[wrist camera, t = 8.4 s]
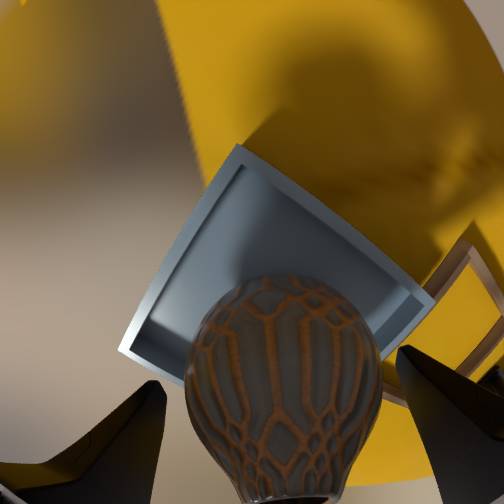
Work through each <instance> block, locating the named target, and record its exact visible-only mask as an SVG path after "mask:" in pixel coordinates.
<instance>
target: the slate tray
mask: <svg viewBox="0 0 504 504" xmlns="http://www.w3.org/2000/svg"><path fill="white" fill-rule="evenodd" d="M277 273H289V274H298V275H303V276H308V277H311V278H314V279H317V280H319V281H321V282H323V283H325V284H327V285H329V286H331V287H333V288H334V289H336V290H337V291H339V292H340V293H341V294H342V295H344V296H345V297H346V298H347V299H348V300H349V301H350V302H351V303H352V304H353V305H354V306H355V307H356V308H357V310H358V311H359V312H360V314H361V315H362V316H363V318H364V319H365V321H366V323H367V324H368V326H369V328H370V329H371V331H372V334H373V336H374V338H375V340H376V342H377V346H378V349H379V352H380V356H381V361H382V360H383V359H384V358H385V357H386V356H387V355H388V354H389V353H390V352H391V351H392V350H393V349H394V348H395V347H396V346H397V345H398V344H399V343H400V342H401V341H402V340H403V339H404V338H405V337H406V336H407V335H408V334H409V333H410V332H411V331H412V330H413V328H414V327H415V326H416V325H417V324H418V323H419V322H420V321H421V320H422V318H423V317H424V316H425V315H426V314H427V313H428V312H429V310H430V309H431V308H432V307H433V306H434V305H435V303H436V301H435V300H434V299H433V298H432V297H431V296H430V295H429V294H428V293H427V292H426V291H425V290H424V289H423V288H422V287H421V286H420V285H419V284H418V283H417V282H416V281H415V280H413V279H412V278H411V277H410V276H409V275H408V274H407V273H406V272H405V271H404V270H403V269H402V268H400V267H399V266H398V265H397V264H396V263H395V262H394V261H393V260H392V259H390V258H389V257H388V256H387V255H386V254H385V253H384V252H382V251H381V250H380V249H379V248H378V247H377V246H375V245H374V244H373V243H372V242H371V241H370V240H368V239H367V238H366V237H365V236H364V235H362V234H361V233H360V232H359V231H358V230H356V229H355V228H354V227H353V226H352V225H350V224H349V223H348V222H347V221H345V220H344V219H343V218H342V217H340V216H339V215H338V214H337V213H335V212H334V211H333V210H331V209H330V208H329V207H328V206H326V205H325V204H324V203H322V202H321V201H320V200H318V199H317V198H316V197H314V196H313V195H312V194H310V193H309V192H308V191H306V190H305V189H304V188H302V187H301V186H300V185H298V184H297V183H296V182H294V181H293V180H291V179H290V178H289V177H287V176H286V175H284V174H283V173H282V172H280V171H279V170H277V169H276V168H274V167H273V166H271V165H270V164H269V163H267V162H266V161H264V160H263V159H261V158H260V157H258V156H257V155H255V154H254V153H252V152H251V151H249V150H248V149H246V148H245V147H243V146H242V145H240V144H236V146H235V147H234V149H233V150H232V152H231V153H230V155H229V156H228V157H227V159H226V160H225V162H224V163H223V165H222V166H221V168H220V169H219V171H218V172H217V174H216V175H215V177H214V178H213V180H212V182H211V183H210V185H209V186H208V188H207V189H206V191H205V192H204V194H203V196H202V198H201V199H200V200H199V202H198V204H197V205H196V207H195V208H194V210H193V212H192V213H191V215H190V217H189V218H188V220H187V221H186V223H185V225H184V226H183V228H182V230H181V232H180V233H179V235H178V236H177V238H176V240H175V242H174V243H173V245H172V247H171V249H170V250H169V252H168V254H167V256H166V257H165V259H164V261H163V263H162V265H161V266H160V268H159V270H158V272H157V273H156V275H155V277H154V279H153V281H152V283H151V285H150V286H149V288H148V290H147V292H146V294H145V296H144V298H143V300H142V302H141V304H140V305H139V308H138V309H137V311H136V313H135V315H134V317H133V319H132V322H131V323H130V325H129V328H128V329H127V331H126V333H125V336H124V338H123V340H122V342H121V344H120V346H119V348H118V351H120V352H121V353H123V354H125V355H126V356H128V357H129V358H131V359H133V360H134V361H136V362H138V363H139V364H141V365H143V366H144V367H146V368H148V369H150V370H151V371H153V372H155V373H157V374H158V375H160V376H162V377H164V378H166V379H168V380H170V381H171V382H173V383H175V384H177V385H179V386H181V387H183V388H184V375H185V365H186V360H187V356H188V352H189V348H190V345H191V343H192V340H193V337H194V335H195V333H196V331H197V329H198V327H199V325H200V323H201V321H202V320H203V318H204V316H205V315H206V314H207V312H208V311H209V310H210V309H211V308H212V306H213V305H214V304H215V303H216V302H217V301H218V300H219V299H220V298H221V297H223V296H224V295H225V294H226V293H227V292H229V291H230V290H232V289H233V288H235V287H236V286H238V285H240V284H242V283H244V282H246V281H248V280H251V279H253V278H256V277H260V276H264V275H269V274H277Z"/></svg>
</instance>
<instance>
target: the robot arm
mask: <svg viewBox="0 0 504 504" xmlns="http://www.w3.org/2000/svg"><path fill="white" fill-rule="evenodd" d="M395 365H396V370H397V373H398V376H399V380H400V383H401V386H402V389H403V393H404V396H405V399H406V402H407V405H408V407H409V410H410V412H411V414H412V417H413V419H414V422H415V424H416V427H417V429H418V432H419V434H420V437H421V439H422V442H423V445H424V447H425V450H426V453H427V455H428V458H429V461H430V464H431V467H432V470H433V473H434V476H435V478H436V482H437V485H438V488H439V492H440V495H441V498H442V501H443V504H504V373H503V371H502V370H501V369H500V367H499V366H496V367H495V368H494V369H493V370H492V371H491V372H490V373H489V374H488V375H487V376H486V377H485V378H484V379H483V380H482V382H481V383H480V384H479V385H478V384H476V383H475V382H473V381H471V380H470V379H468V378H466V377H464V376H463V375H461V374H459V373H458V372H456V371H454V370H452V369H451V368H449V367H447V366H445V365H444V364H442V363H440V362H438V361H437V360H435V359H433V358H432V357H430V356H428V355H426V354H425V353H423V352H421V351H419V350H418V349H416V348H414V347H413V346H411V345H404V346H401V347H399V348H398V352H397V357H396V363H395ZM166 405H167V395H166V393H165V391H164V389H163V387H162V386H161V384H160V382H159V381H157V380H149V381H147V382H146V383H145V384H144V385H143V386H141V387H140V388H139V389H138V390H137V391H136V392H134V393H133V394H132V395H131V396H130V397H129V398H128V399H126V400H125V401H124V402H123V403H122V404H121V405H119V406H118V407H117V408H116V409H115V410H114V411H113V412H111V413H110V414H109V415H108V416H107V417H106V418H104V419H103V420H102V421H101V422H100V423H98V424H97V425H96V426H95V427H94V428H93V429H92V430H91V431H89V432H88V433H87V434H85V435H84V436H83V437H82V438H80V439H79V440H78V441H77V442H75V443H74V444H72V445H71V446H70V447H68V448H67V449H65V450H64V451H62V452H61V453H59V454H58V455H56V456H55V457H53V458H52V459H50V460H48V461H46V462H44V463H39V464H20V463H4V462H0V484H2V485H3V486H4V488H3V490H2V491H0V504H150V500H151V494H152V489H153V483H154V478H155V473H156V467H157V462H158V457H159V452H160V447H161V442H162V438H163V432H164V426H165V415H166Z"/></svg>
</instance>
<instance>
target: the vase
mask: <svg viewBox="0 0 504 504" xmlns="http://www.w3.org/2000/svg"><path fill="white" fill-rule="evenodd" d="M184 388H185V399H186V405H187V410H188V414H189V417H190V420H191V423H192V426H193V428H194V430H195V432H196V434H197V436H198V437H199V439H200V440H201V442H202V444H203V445H204V446H205V448H206V449H207V450H208V452H209V453H210V455H211V456H212V457H213V459H214V460H215V461H216V462H217V464H218V465H219V466H220V467H221V468H222V470H223V471H224V472H225V473H226V475H227V476H228V477H229V479H230V480H231V482H232V484H233V485H234V487H235V489H236V491H237V494H238V496H239V498H240V500H241V502H242V504H335V503H337V502H338V501H339V500H340V499H341V497H342V494H343V491H344V488H345V484H346V481H347V478H348V475H349V473H350V470H351V468H352V465H353V464H354V462H355V460H356V458H357V457H358V455H359V453H360V452H361V450H362V448H363V446H364V445H365V443H366V441H367V439H368V437H369V435H370V433H371V431H372V429H373V427H374V424H375V422H376V420H377V417H378V414H379V411H380V407H381V403H382V396H383V369H382V362H381V356H380V352H379V349H378V346H377V342H376V340H375V338H374V336H373V334H372V331H371V329H370V328H369V326H368V324H367V323H366V321H365V319H364V318H363V316H362V315H361V314H360V312H359V311H358V310H357V308H356V307H355V306H354V305H353V304H352V303H351V302H350V301H349V300H348V299H347V298H346V297H345V296H344V295H342V294H341V293H340V292H339V291H337V290H336V289H334V288H333V287H331V286H329V285H327V284H325V283H323V282H321V281H319V280H317V279H314V278H311V277H308V276H303V275H298V274H289V273H277V274H269V275H264V276H260V277H256V278H253V279H251V280H248V281H246V282H244V283H242V284H240V285H238V286H236V287H235V288H233V289H232V290H230V291H229V292H227V293H226V294H225V295H224V296H223V297H221V298H220V299H219V300H218V301H217V302H216V303H215V304H214V305H213V306H212V308H211V309H210V310H209V311H208V312H207V314H206V315H205V316H204V318H203V320H202V321H201V323H200V325H199V327H198V329H197V331H196V333H195V335H194V337H193V340H192V343H191V345H190V348H189V352H188V356H187V360H186V365H185V375H184Z"/></svg>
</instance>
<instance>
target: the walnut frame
mask: <svg viewBox="0 0 504 504" xmlns="http://www.w3.org/2000/svg"><path fill="white" fill-rule="evenodd" d="M468 263H469V264H470V266H471V267H472V268H473V270H474V271H475V273H476V274H477V276H478V277H479V279H480V280H481V282H482V283H483V285H484V286H485V288H486V289H487V291H488V293H489V294H490V296H491V297H492V299H493V301H494V302H495V304H496V306H497V307H498V309H499V311H500V313H501V314H502V316H501V318H500V319H499V320H498V322H497V323H496V324H495V325H494V327H493V328H492V329H491V331H490V332H489V333H488V334H487V336H486V337H485V338H484V339H483V340H482V342H481V343H480V344H479V345H478V346H477V347H476V349H475V350H474V351H473V352H472V353H471V354H470V355H469V356H468V358H467V359H466V360H465V361H464V362H463V363H462V364H461V365H460V366H459V367H458V368H457V369H456V370H455V371H456V372H458V373H459V374H461V375H463V376H464V377H466V378H468V377H469V376H470V375H471V374H472V373H473V372H474V371H475V370H476V369H477V368H478V367H479V366H480V364H481V363H482V362H483V361H484V360H485V359H486V358H487V357H488V355H489V354H490V353H491V352H492V351H493V350H494V348H495V347H496V346H497V345H498V343H499V342H500V341H501V340H502V338H503V337H504V296H503V294H502V292H501V290H500V288H499V287H498V285H497V283H496V281H495V279H494V278H493V276H492V274H491V273H490V271H489V269H488V268H487V266H486V264H485V263H484V261H483V260H482V258H481V256H480V255H479V253H478V252H477V250H476V249H475V247H474V246H473V245H472V244H471V243H469V242H467V241H465V240H464V239H462V238H459V239H458V241H457V242H456V244H455V245H454V247H453V248H452V250H451V251H450V252H449V254H448V255H447V257H446V258H445V259H444V261H443V262H442V264H441V265H440V266H439V268H438V269H437V270H436V272H435V273H434V274H433V275H432V277H431V278H430V279H429V281H428V282H427V283H426V284H425V286H424V287H423V289H424V290H425V291H426V292H427V293H428V294H429V295H430V296H431V297H432V298H433V299H434V300H435V301H436V303H435V305H434V306H433V307H432V308H431V309H430V310H429V312H428V313H427V314H426V315H425V316H424V317H423V318H422V320H421V321H420V322H419V323H418V324H417V325H416V326H415V327H414V328H413V330H412V331H411V332H410V333H409V334H408V335H407V336H406V337H405V338H404V339H403V340H402V341H401V342H400V343H399V344H398V345H397V346H396V347H395V348H394V349H393V350H392V351H391V352H390V353H389V354H388V355H387V356H386V357H385V358H384V359H383V360H382V361H381V362H383V361H384V360H385V359H386V358H387V357H388V356H389V355H390V354H391V353H392V352H393V351H394V350H395V349H396V348H397V347H398V346H399V345H400V344H401V343H402V342H403V341H404V340H405V339H406V338H407V337H408V336H409V335H410V334H411V333H412V332H413V331H414V329H415V328H416V327H417V326H418V325H419V324H420V323H421V322H422V321H423V320H424V318H425V317H426V316H427V315H428V314H429V313H430V311H431V310H432V309H433V308H434V307H435V306H436V304H437V303H438V302H439V301H440V300H441V298H442V297H443V296H444V295H445V293H446V292H447V291H448V289H449V288H450V287H451V286H452V284H453V283H454V282H455V280H456V279H457V278H458V276H459V275H460V273H461V272H462V271H463V269H464V268H465V266H466V265H467V264H468ZM382 398H383V399H385V400H388V401H390V402H393V403H395V404H398V405H400V406H403V407H406V408H408V409H409V407H408V405H407V402H406V399H405V396H404V393H403V390H401V389H399V388H397V387H394V386H392V385H390V384H388V383H386V382H384V381H383V396H382Z"/></svg>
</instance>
